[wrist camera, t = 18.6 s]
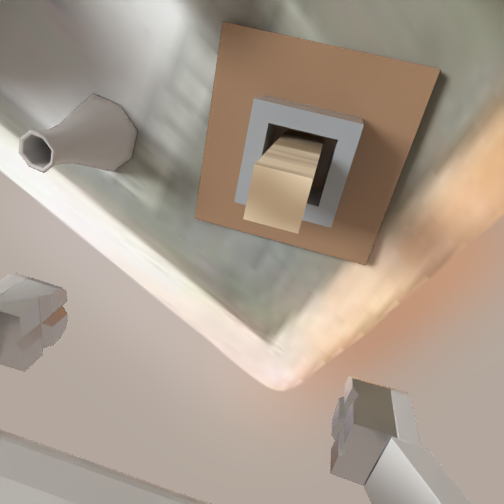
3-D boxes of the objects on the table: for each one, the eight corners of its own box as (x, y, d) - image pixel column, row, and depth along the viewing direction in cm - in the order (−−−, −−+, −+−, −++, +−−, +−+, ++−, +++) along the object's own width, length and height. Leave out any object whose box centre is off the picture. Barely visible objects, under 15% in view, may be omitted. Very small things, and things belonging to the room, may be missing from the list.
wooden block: (286, 130, 35) (254, 164, 22) (324, 140, 35) (313, 178, 22) (277, 168, 36) (243, 219, 24) (313, 177, 36) (298, 233, 24)
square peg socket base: (225, 22, 33) (203, 13, 28) (437, 69, 31) (456, 68, 26) (197, 215, 41) (176, 236, 36) (365, 260, 40) (368, 290, 34)
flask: (150, 129, 39) (92, 147, 30) (116, 182, 42) (55, 212, 33) (91, 79, 38) (13, 82, 29) (61, 137, 41) (-16, 155, 32)
